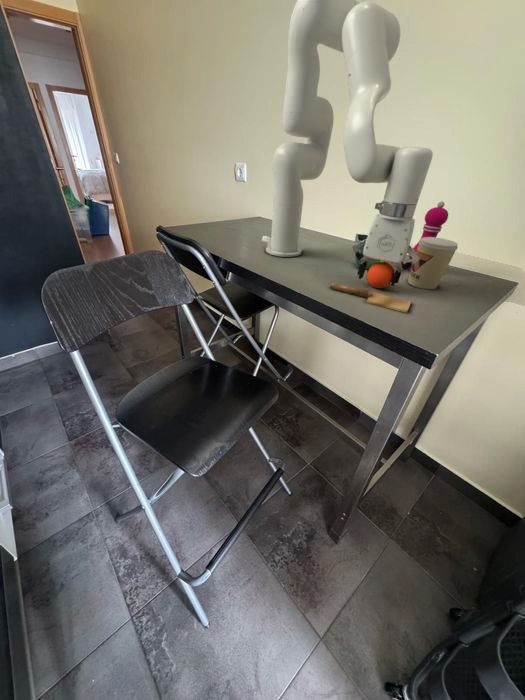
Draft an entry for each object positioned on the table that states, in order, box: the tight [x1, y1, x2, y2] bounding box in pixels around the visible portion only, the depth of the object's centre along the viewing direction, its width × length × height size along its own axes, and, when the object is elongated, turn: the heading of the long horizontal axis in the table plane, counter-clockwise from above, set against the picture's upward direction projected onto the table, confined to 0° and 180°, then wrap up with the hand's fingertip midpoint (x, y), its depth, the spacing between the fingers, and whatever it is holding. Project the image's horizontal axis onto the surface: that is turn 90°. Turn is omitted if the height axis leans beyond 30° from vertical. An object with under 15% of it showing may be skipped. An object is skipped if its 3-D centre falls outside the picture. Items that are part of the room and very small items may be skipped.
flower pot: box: [353, 233, 381, 270], centre depth 90 cm, size 9×9×9 cm
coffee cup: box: [407, 237, 459, 290], centre depth 79 cm, size 9×9×12 cm
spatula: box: [329, 281, 412, 314], centre depth 72 cm, size 20×6×2 cm, turn 59°
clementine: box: [364, 260, 395, 289], centre depth 77 cm, size 8×7×7 cm
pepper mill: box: [407, 200, 449, 272], centre depth 87 cm, size 7×7×20 cm
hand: (376, 280), depth 77 cm, fingers closed on clementine, 8 cm apart
